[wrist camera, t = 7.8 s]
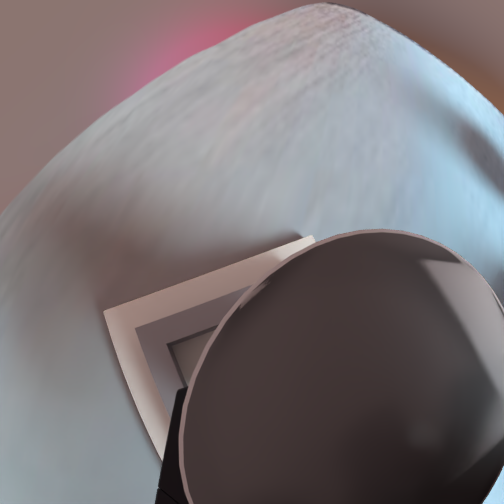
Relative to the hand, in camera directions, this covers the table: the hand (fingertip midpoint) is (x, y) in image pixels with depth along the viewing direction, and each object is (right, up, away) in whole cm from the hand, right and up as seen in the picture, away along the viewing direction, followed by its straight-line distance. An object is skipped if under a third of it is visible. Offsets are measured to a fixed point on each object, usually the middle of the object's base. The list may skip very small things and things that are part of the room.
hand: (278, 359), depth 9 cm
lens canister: (0, -4, +6) cm, 7 cm away
